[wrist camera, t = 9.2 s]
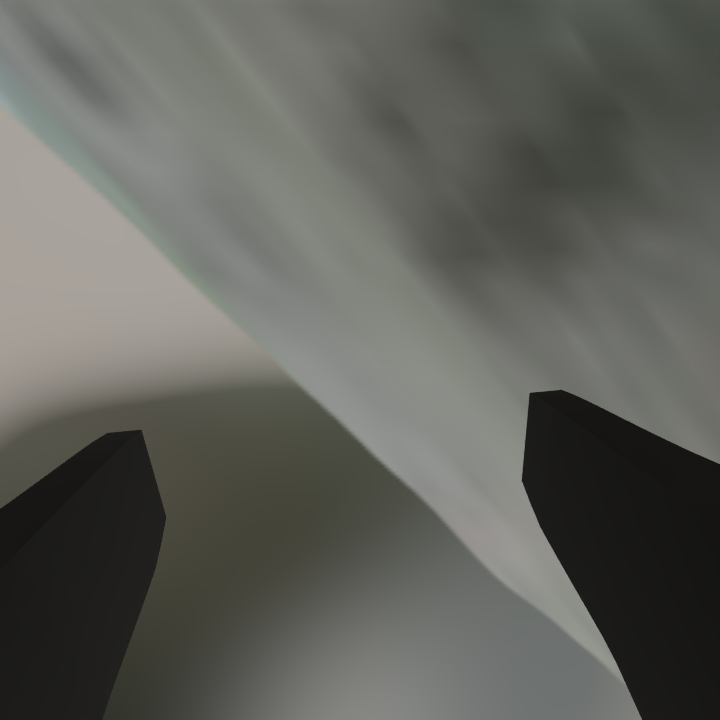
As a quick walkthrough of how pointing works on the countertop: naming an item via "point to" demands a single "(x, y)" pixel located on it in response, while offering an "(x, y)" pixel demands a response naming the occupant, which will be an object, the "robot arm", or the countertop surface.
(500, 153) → the countertop surface
